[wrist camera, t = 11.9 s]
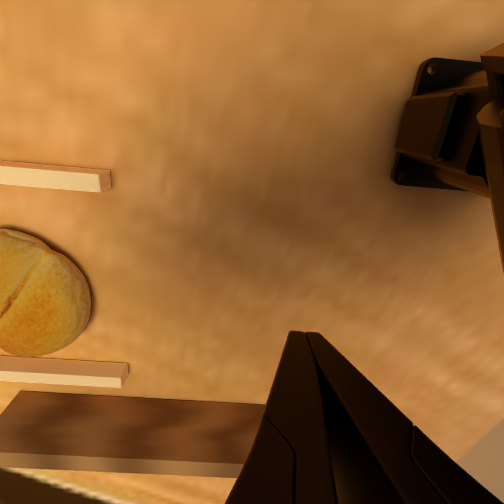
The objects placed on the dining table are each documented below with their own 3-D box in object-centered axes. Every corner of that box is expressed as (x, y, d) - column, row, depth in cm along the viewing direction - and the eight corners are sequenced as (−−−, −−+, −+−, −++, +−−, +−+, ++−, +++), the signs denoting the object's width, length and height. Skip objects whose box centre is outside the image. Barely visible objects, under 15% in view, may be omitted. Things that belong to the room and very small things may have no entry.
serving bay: (109, 170, 19) (98, 174, 17) (128, 372, 25) (121, 387, 24) (-119, 149, 18) (-150, 152, 17) (-40, 362, 24) (-57, 377, 23)
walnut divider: (284, 406, 27) (292, 466, 22) (282, 419, 27) (288, 480, 23) (20, 390, 26) (-30, 450, 21) (24, 404, 26) (-24, 466, 22)
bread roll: (59, 353, 24) (25, 395, 21) (-54, 282, 22) (-115, 315, 18) (122, 290, 22) (97, 324, 18) (5, 201, 20) (-51, 221, 16)
